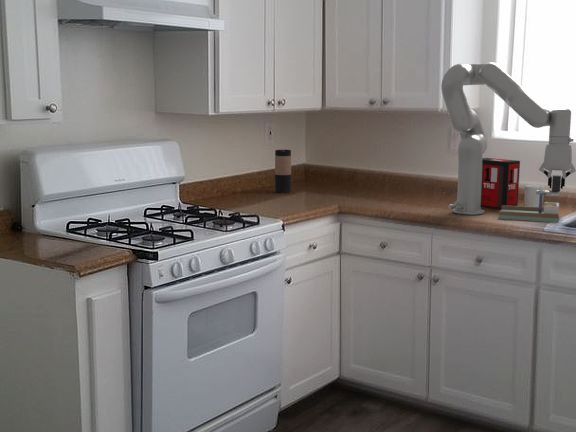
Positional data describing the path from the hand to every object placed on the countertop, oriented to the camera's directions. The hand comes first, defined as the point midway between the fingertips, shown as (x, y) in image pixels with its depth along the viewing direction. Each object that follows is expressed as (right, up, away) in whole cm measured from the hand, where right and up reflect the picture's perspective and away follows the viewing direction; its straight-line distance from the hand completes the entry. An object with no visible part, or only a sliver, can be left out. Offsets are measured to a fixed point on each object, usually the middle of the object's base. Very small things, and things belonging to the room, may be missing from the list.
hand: (556, 187), depth 309 cm
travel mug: (-107, 0, +70) cm, 128 cm away
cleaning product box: (-16, -7, +31) cm, 36 cm away
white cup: (-2, -9, +23) cm, 25 cm away
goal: (-1, -11, +2) cm, 11 cm away
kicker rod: (-3, -10, +3) cm, 11 cm away
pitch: (-9, -11, +5) cm, 15 cm away
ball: (-2, -8, +2) cm, 9 cm away
